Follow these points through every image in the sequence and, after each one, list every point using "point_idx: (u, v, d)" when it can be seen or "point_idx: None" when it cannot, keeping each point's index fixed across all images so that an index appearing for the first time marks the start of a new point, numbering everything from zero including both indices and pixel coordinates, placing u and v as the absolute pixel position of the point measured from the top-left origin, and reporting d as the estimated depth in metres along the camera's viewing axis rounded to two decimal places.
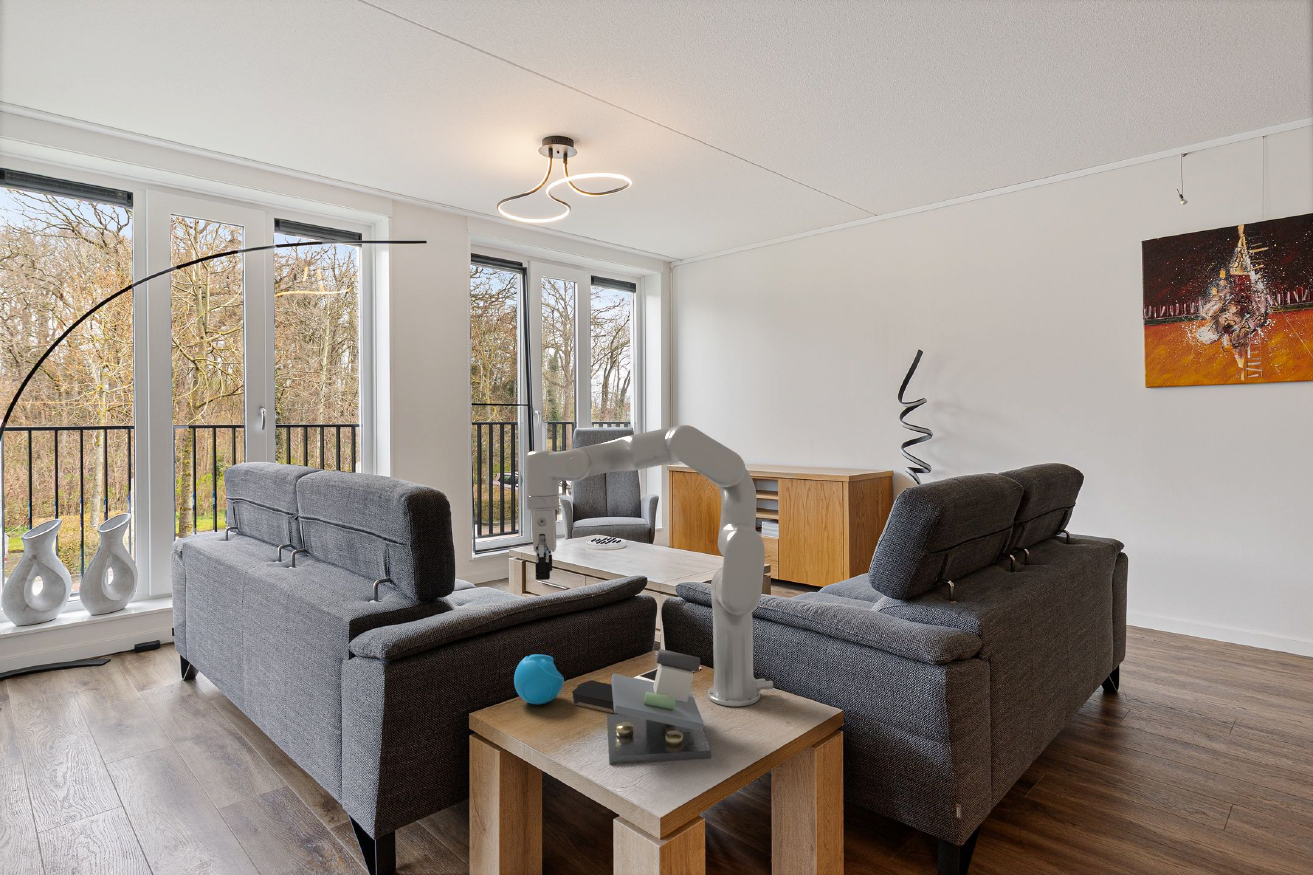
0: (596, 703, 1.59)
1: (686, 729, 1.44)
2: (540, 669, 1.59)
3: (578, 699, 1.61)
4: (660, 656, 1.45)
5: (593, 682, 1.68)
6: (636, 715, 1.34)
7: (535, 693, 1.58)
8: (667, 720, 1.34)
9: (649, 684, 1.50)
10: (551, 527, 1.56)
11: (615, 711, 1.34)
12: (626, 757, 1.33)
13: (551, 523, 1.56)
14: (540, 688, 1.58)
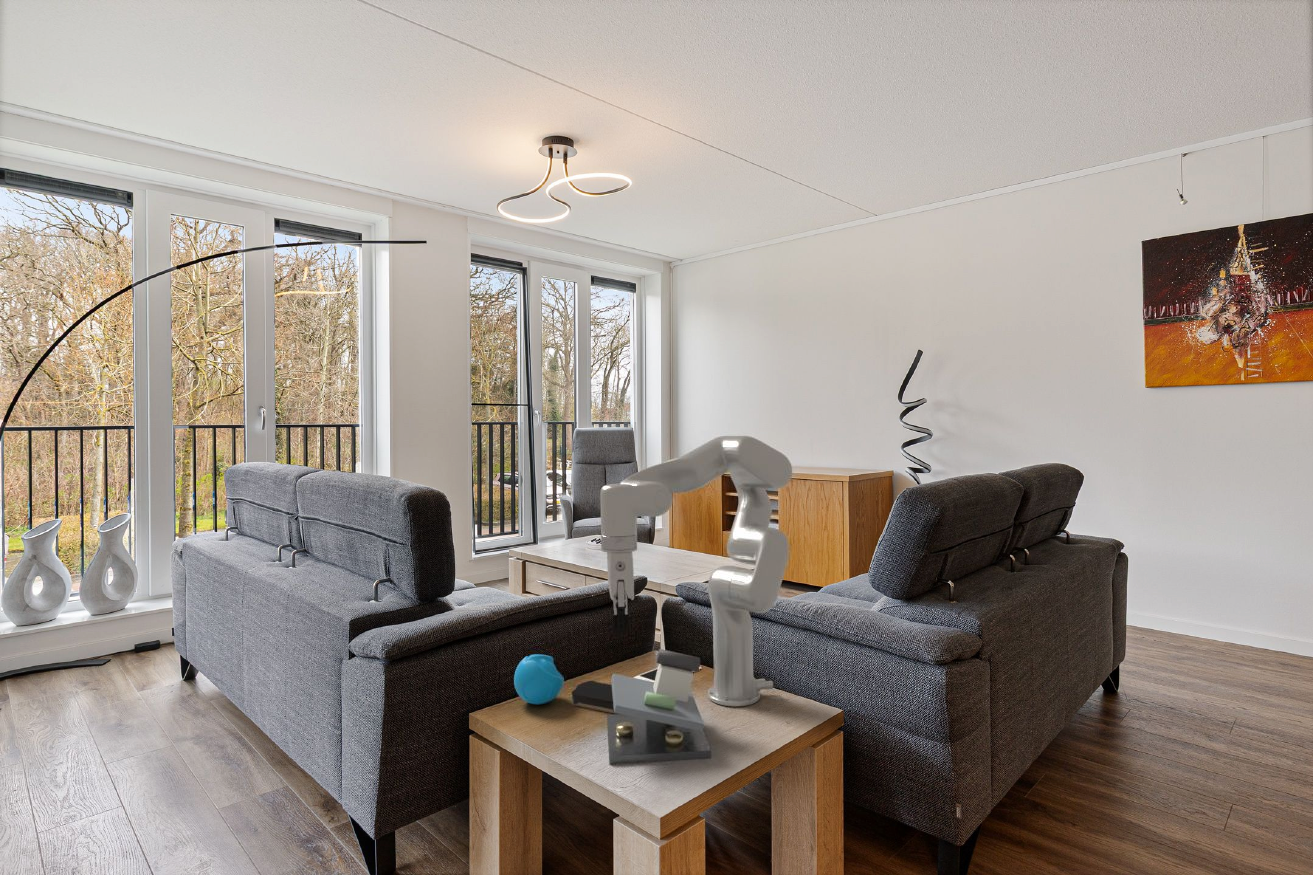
0: (596, 703, 1.59)
1: (686, 729, 1.44)
2: (540, 669, 1.59)
3: (578, 700, 1.61)
4: (660, 656, 1.45)
5: (592, 682, 1.68)
6: (636, 715, 1.34)
7: (535, 693, 1.58)
8: (667, 720, 1.34)
9: (649, 684, 1.50)
10: (631, 572, 1.38)
11: (615, 711, 1.34)
12: (626, 757, 1.33)
13: (631, 567, 1.38)
14: (540, 688, 1.58)
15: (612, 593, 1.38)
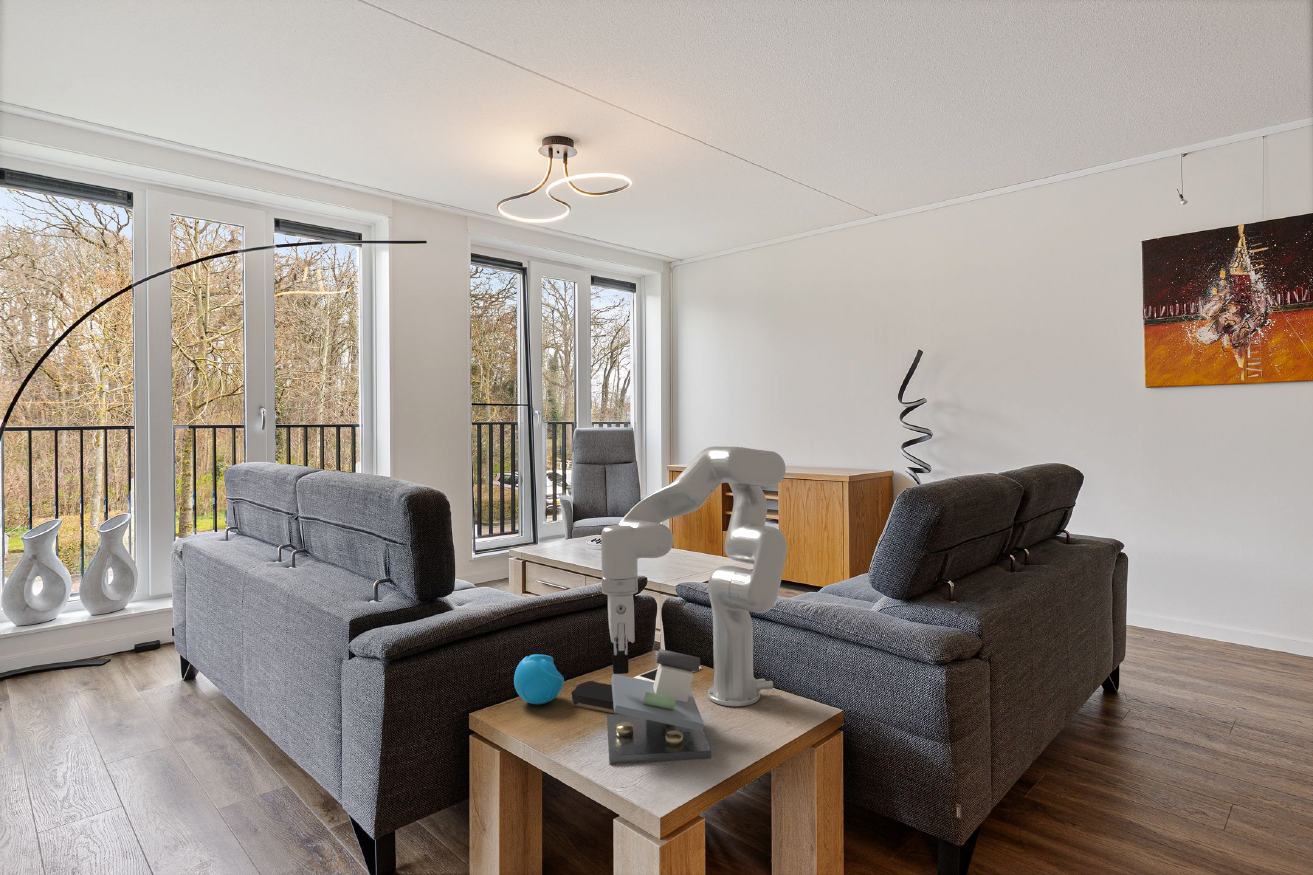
0: (596, 703, 1.58)
1: (686, 729, 1.44)
2: (540, 669, 1.59)
3: (577, 700, 1.61)
4: (660, 656, 1.45)
5: (592, 683, 1.67)
6: (636, 715, 1.34)
7: (535, 693, 1.58)
8: (667, 720, 1.34)
9: (649, 684, 1.50)
10: (631, 615, 1.38)
11: (615, 711, 1.34)
12: (626, 757, 1.33)
13: (631, 610, 1.38)
14: (540, 688, 1.58)
15: (612, 636, 1.38)
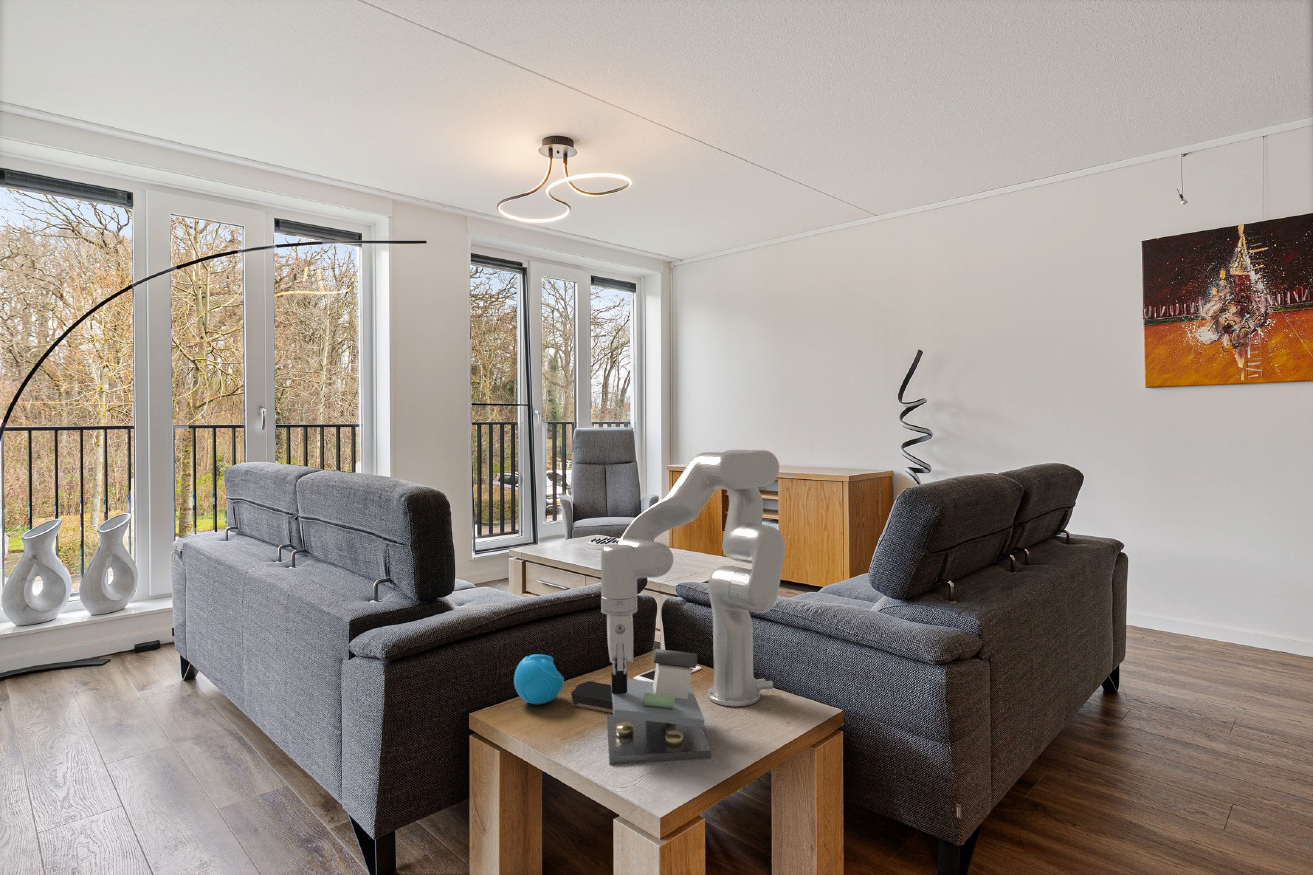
0: (596, 703, 1.58)
1: (686, 729, 1.44)
2: (540, 669, 1.59)
3: (577, 700, 1.61)
4: (656, 656, 1.45)
5: (591, 683, 1.67)
6: (636, 717, 1.34)
7: (535, 693, 1.58)
8: (667, 719, 1.34)
9: (649, 684, 1.50)
10: (630, 635, 1.38)
11: (614, 715, 1.34)
12: (626, 757, 1.33)
13: (630, 630, 1.38)
14: (540, 688, 1.58)
15: (611, 656, 1.37)
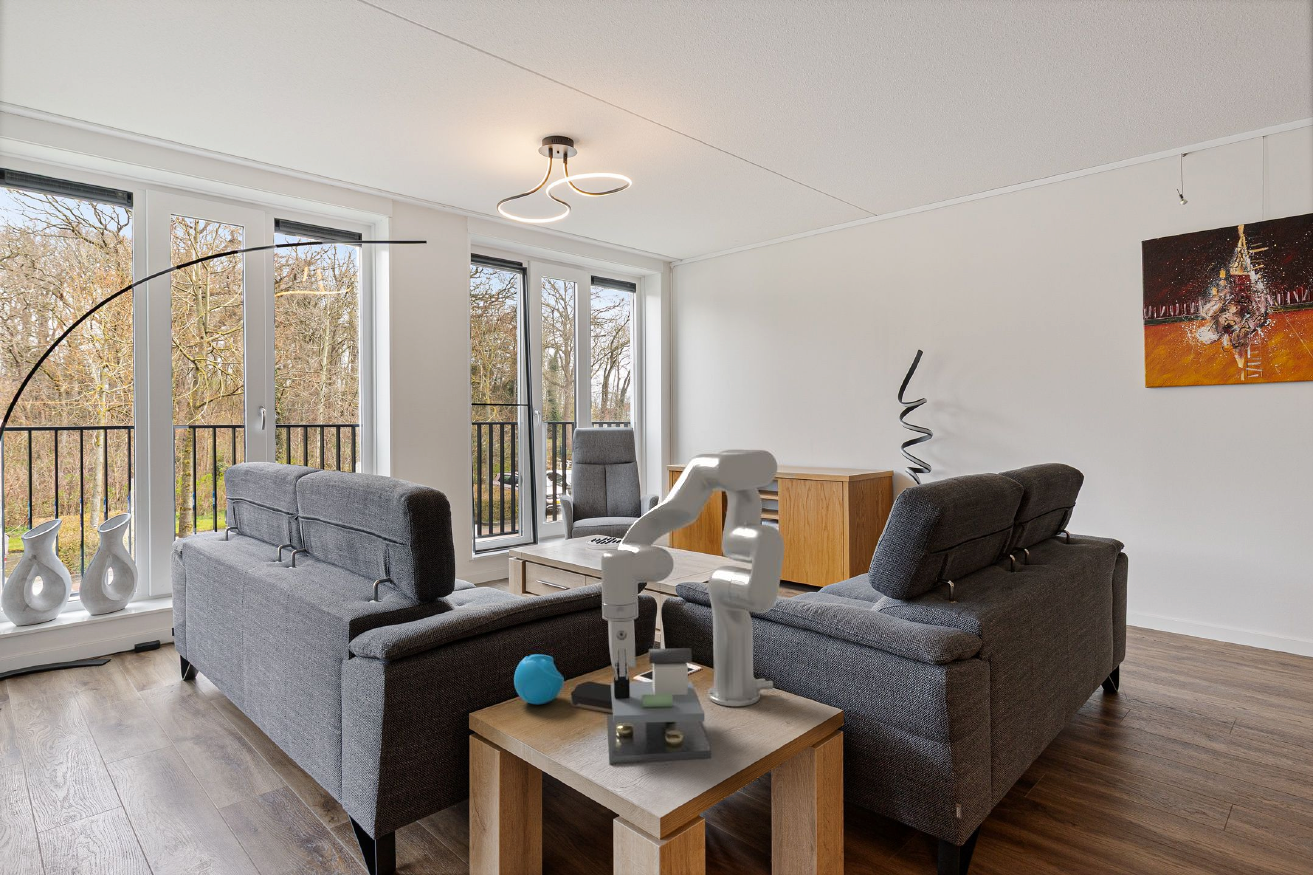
0: (596, 703, 1.58)
1: (686, 729, 1.44)
2: (540, 669, 1.59)
3: (577, 700, 1.61)
4: (651, 656, 1.45)
5: (591, 683, 1.67)
6: (636, 720, 1.34)
7: (535, 693, 1.58)
8: (667, 718, 1.34)
9: (648, 685, 1.50)
10: (632, 641, 1.38)
11: (614, 721, 1.34)
12: (626, 757, 1.33)
13: (632, 636, 1.38)
14: (540, 688, 1.58)
15: (613, 662, 1.38)
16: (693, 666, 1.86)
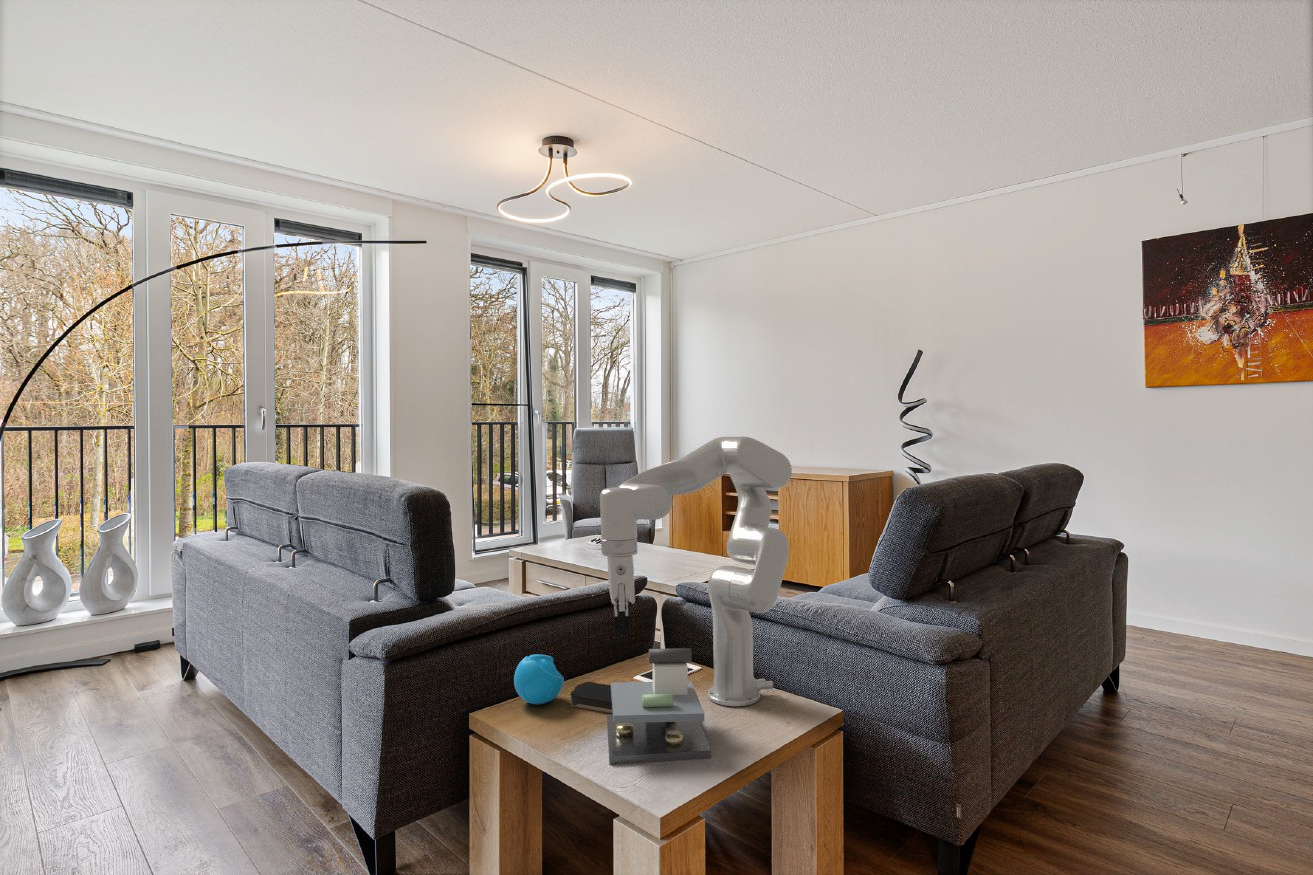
0: (596, 703, 1.58)
1: (686, 729, 1.44)
2: (540, 669, 1.59)
3: (577, 701, 1.60)
4: (651, 656, 1.45)
5: (590, 683, 1.67)
6: (636, 720, 1.34)
7: (535, 693, 1.58)
8: (667, 718, 1.34)
9: (648, 685, 1.50)
10: (631, 576, 1.38)
11: (614, 721, 1.34)
12: (626, 757, 1.33)
13: (631, 571, 1.38)
14: (540, 688, 1.58)
15: (613, 597, 1.38)
16: (693, 666, 1.86)
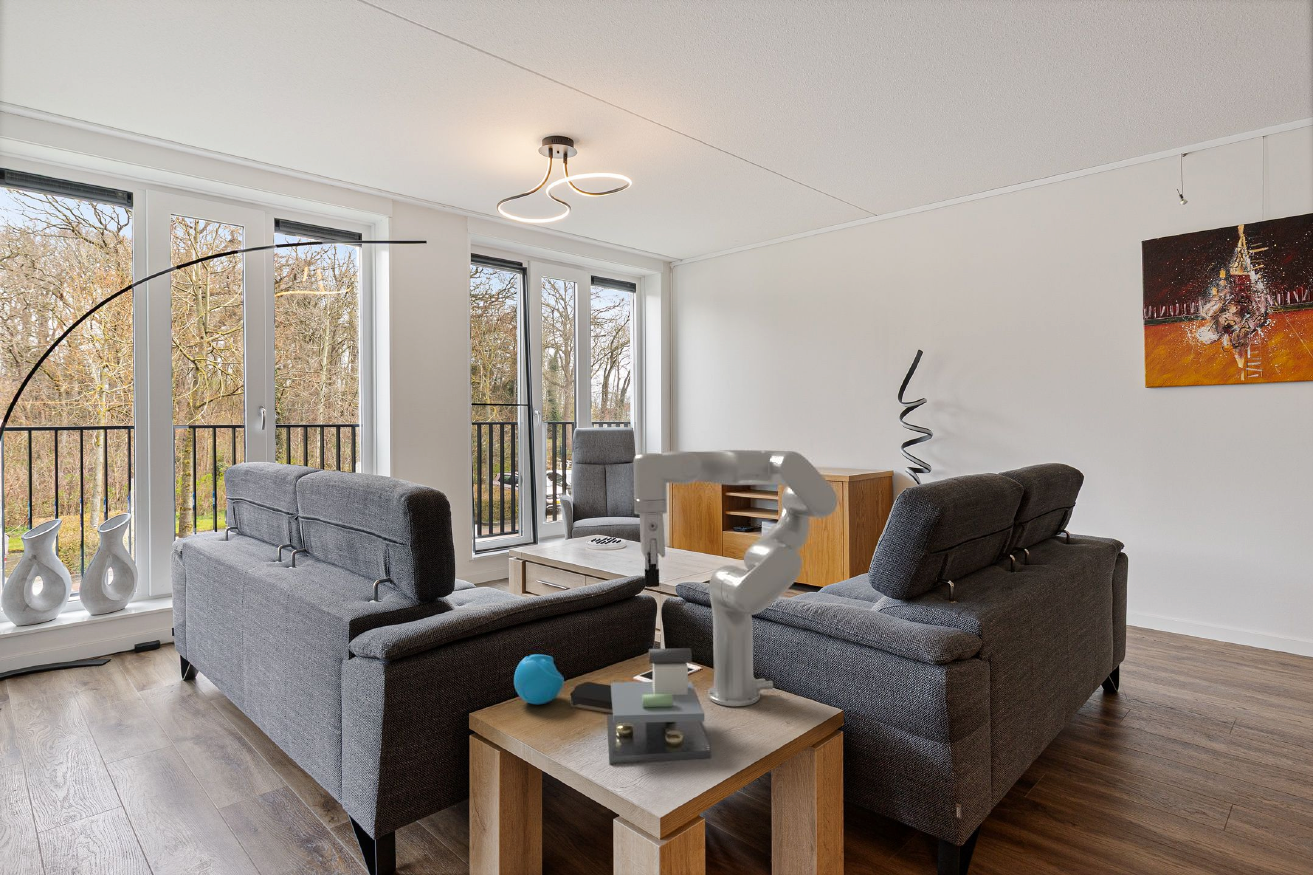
0: (596, 704, 1.58)
1: (686, 729, 1.44)
2: (540, 669, 1.59)
3: (577, 701, 1.60)
4: (651, 656, 1.45)
5: (590, 683, 1.67)
6: (636, 720, 1.34)
7: (535, 693, 1.58)
8: (667, 718, 1.34)
9: (648, 685, 1.50)
10: (662, 532, 1.53)
11: (614, 721, 1.34)
12: (626, 757, 1.33)
13: (662, 528, 1.53)
14: (540, 688, 1.58)
15: (645, 551, 1.52)
16: (693, 666, 1.86)
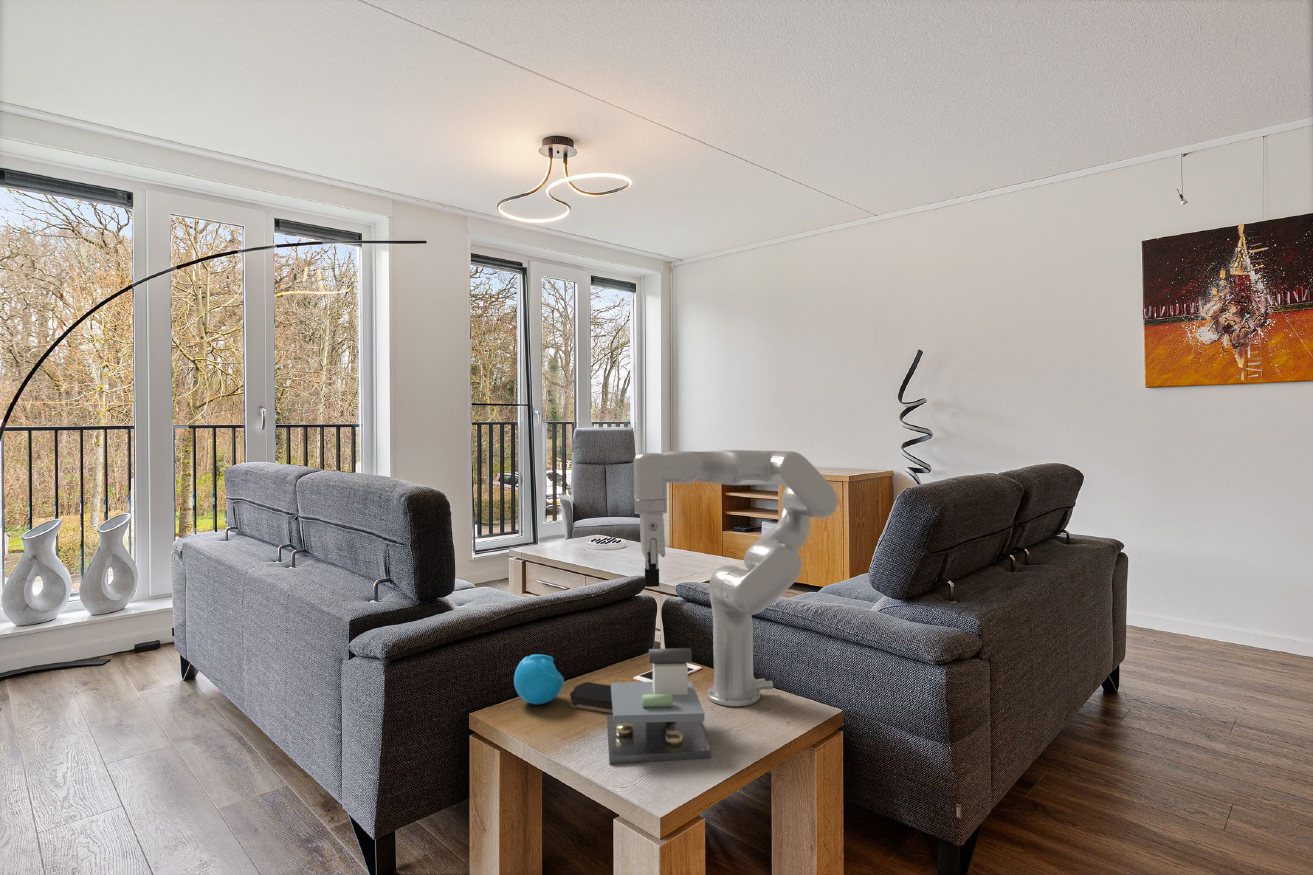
0: (596, 704, 1.58)
1: (686, 729, 1.44)
2: (540, 669, 1.59)
3: (577, 701, 1.60)
4: (651, 656, 1.45)
5: (589, 684, 1.67)
6: (636, 720, 1.34)
7: (535, 693, 1.58)
8: (667, 718, 1.34)
9: (648, 685, 1.50)
10: (662, 531, 1.53)
11: (614, 721, 1.34)
12: (626, 757, 1.33)
13: (662, 527, 1.53)
14: (540, 688, 1.58)
15: (645, 550, 1.52)
16: (693, 666, 1.86)
